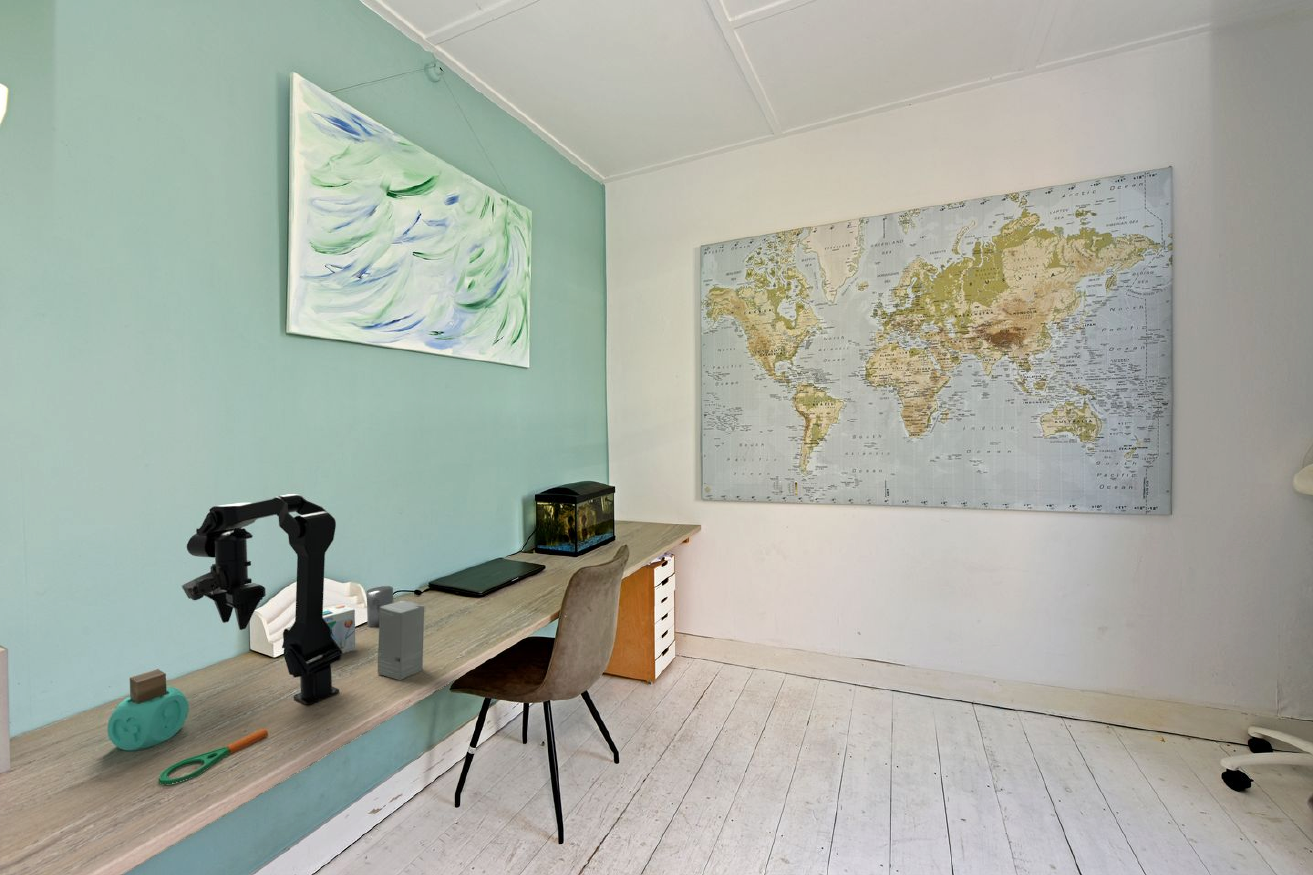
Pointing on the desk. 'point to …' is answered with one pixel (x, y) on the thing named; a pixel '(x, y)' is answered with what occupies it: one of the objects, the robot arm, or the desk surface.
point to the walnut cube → (148, 686)
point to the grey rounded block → (377, 603)
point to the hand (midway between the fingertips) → (234, 625)
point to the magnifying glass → (210, 757)
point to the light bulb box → (341, 627)
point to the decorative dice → (147, 720)
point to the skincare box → (400, 639)
